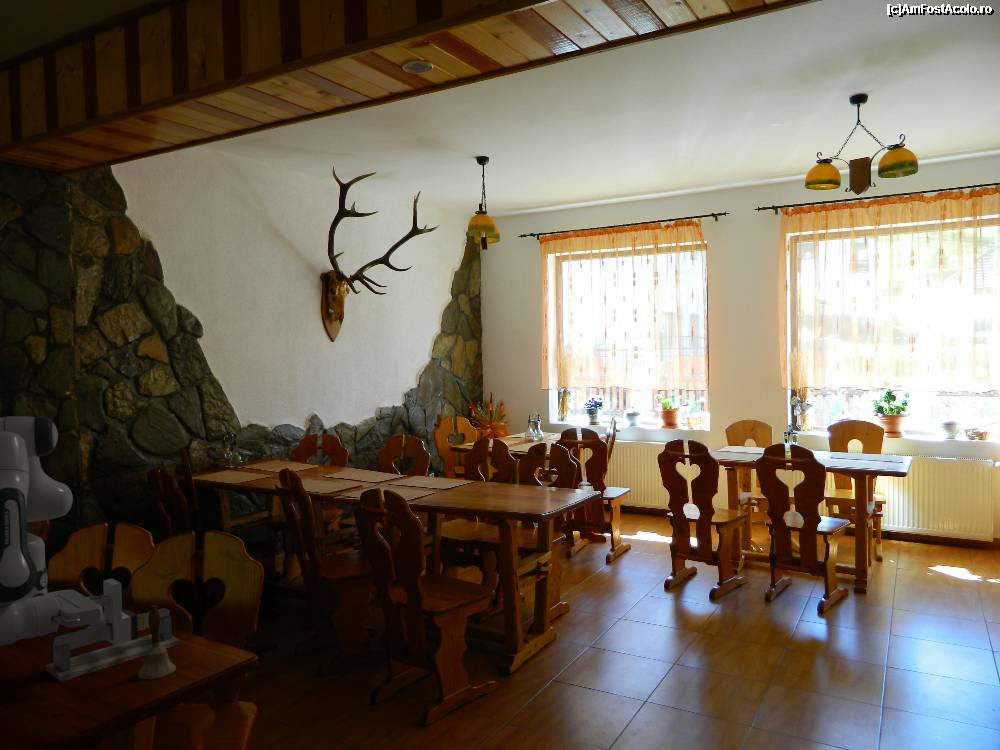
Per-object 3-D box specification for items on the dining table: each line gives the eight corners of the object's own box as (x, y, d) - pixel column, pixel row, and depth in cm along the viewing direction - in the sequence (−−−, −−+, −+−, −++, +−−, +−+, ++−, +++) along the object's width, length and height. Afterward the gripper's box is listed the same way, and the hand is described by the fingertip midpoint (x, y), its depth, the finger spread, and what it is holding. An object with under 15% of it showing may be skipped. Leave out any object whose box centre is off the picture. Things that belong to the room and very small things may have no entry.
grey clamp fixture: (61, 672, 170) (60, 641, 170) (53, 666, 173) (52, 635, 173) (171, 638, 190) (171, 610, 189) (163, 634, 193) (162, 606, 193)
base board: (60, 681, 168) (60, 676, 168) (45, 670, 174) (45, 665, 174) (180, 644, 189) (180, 640, 189) (163, 635, 195) (163, 630, 195)
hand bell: (146, 683, 167) (144, 614, 166) (131, 673, 172) (129, 606, 172) (182, 670, 173) (180, 604, 172) (166, 661, 178) (164, 597, 178)
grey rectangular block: (114, 645, 178) (112, 585, 178) (104, 639, 182) (103, 580, 182) (131, 640, 181) (129, 581, 181) (121, 634, 185) (120, 576, 185)
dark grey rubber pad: (131, 640, 181) (130, 616, 181) (121, 634, 185) (121, 611, 185) (138, 638, 183) (137, 615, 182) (128, 632, 187) (127, 609, 186)
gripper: (60, 611, 163) (124, 595, 173) (30, 592, 176) (92, 578, 187) (61, 639, 163) (125, 621, 173) (31, 618, 176) (93, 602, 187)
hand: (108, 599), depth 180 cm, fingers closed, pressing on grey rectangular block
